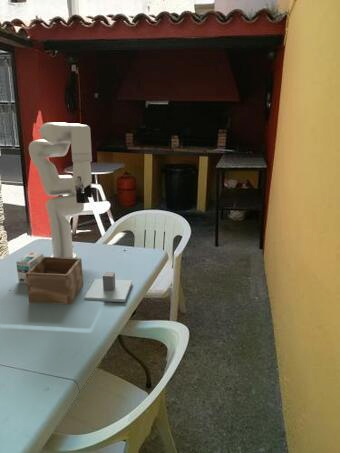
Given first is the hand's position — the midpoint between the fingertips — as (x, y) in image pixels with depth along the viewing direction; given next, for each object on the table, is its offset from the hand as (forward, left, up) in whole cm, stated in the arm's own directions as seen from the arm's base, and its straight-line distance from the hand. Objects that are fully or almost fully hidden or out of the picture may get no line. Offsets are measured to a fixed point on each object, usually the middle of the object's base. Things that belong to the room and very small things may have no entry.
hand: (84, 199), depth 142 cm
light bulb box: (+2, -25, -37) cm, 44 cm away
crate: (+14, -9, -36) cm, 40 cm away
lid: (+10, +11, -36) cm, 39 cm away
